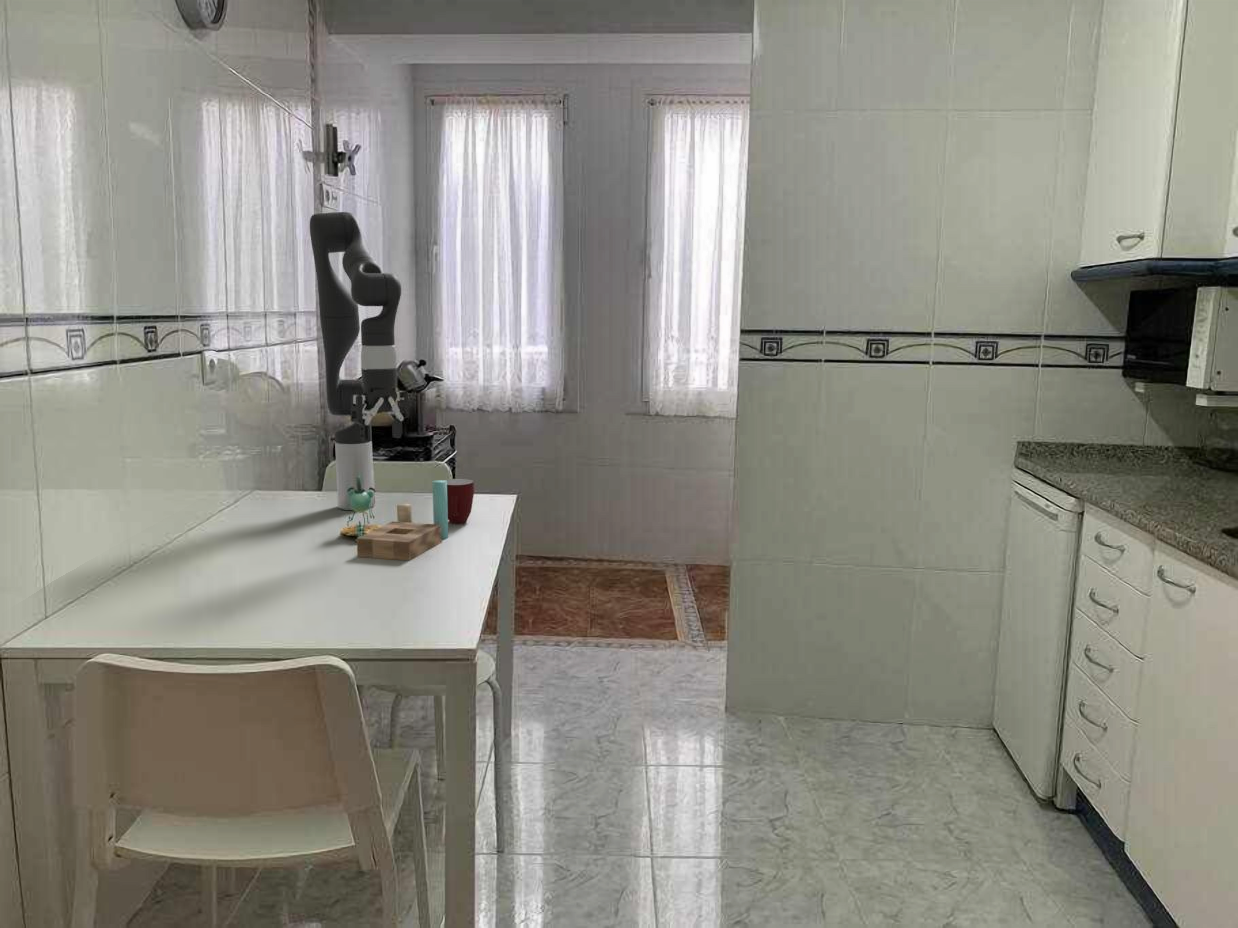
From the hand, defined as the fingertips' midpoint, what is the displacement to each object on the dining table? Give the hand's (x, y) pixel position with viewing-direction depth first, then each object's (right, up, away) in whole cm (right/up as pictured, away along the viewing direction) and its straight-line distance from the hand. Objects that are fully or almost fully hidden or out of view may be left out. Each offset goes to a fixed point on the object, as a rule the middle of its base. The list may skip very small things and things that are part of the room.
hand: (381, 439), depth 214 cm
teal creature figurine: (-7, -22, +10) cm, 25 cm away
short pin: (+3, -22, +10) cm, 24 cm away
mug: (+13, -20, +21) cm, 32 cm away
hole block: (+5, -24, -3) cm, 25 cm away
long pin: (+12, -22, +8) cm, 26 cm away
